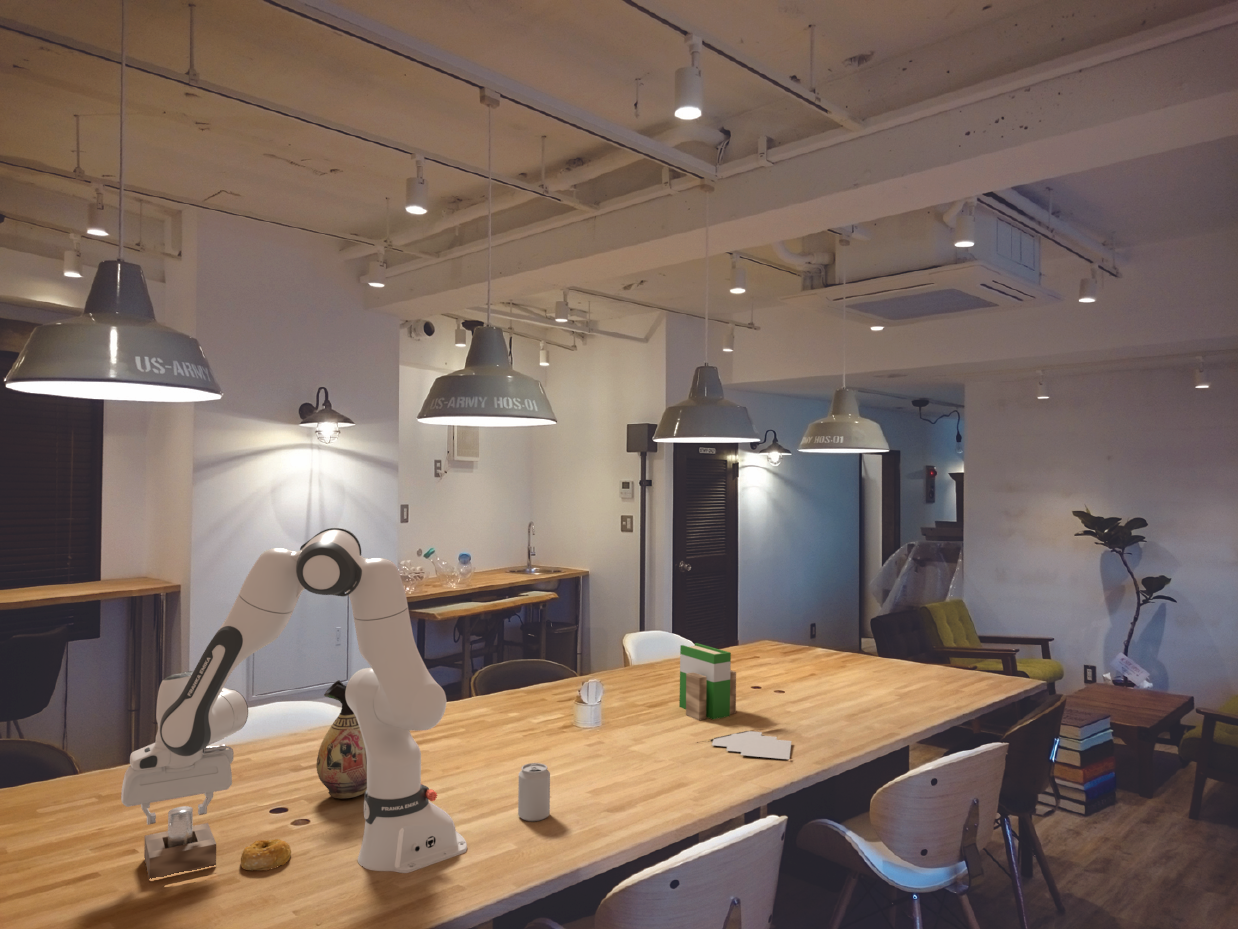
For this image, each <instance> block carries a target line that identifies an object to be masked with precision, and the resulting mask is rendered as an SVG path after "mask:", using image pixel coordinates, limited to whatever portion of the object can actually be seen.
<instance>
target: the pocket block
mask: <svg viewBox="0 0 1238 929" xmlns="http://www.w3.org/2000/svg"><path fill="white" fill-rule="evenodd" d="M143 854H144V858H145V860H144V863H145V862H146V865H145V867H146V866H147V870H146V872H147V871H148V874H147V876H148V875H149V879H150V878H151V879H152V878H156V877H164V876H167V875H171V874H174V873H179V872H184V871H192V870H197V869H201V868H205V867H209V866H214V865H216V866H217V842H216V839H215V837H214V835H213V832H212V830H211V827H210V824H209V822H207V823H206V822H205V823H200V824H196V825H192V843H190V844H185V845H180V846H176V847H171V848H168V830H167V831H162V832H155V833H150V834H145V835H144V853H143ZM144 858H143V859H144ZM149 879H148V880H149Z"/></svg>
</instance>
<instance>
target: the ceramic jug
mask: <svg viewBox="0 0 1238 929" xmlns="http://www.w3.org/2000/svg"><path fill="white" fill-rule="evenodd" d="M346 686H347V685H344V683H343V682H342V681H341V680H340V679H339V680H338V679H337V680H336V681H335V682H334V683H333V684H332V685H331V686H330V687H328V689H327V690H326V691H325V692H324V695H323V696H324V697H326V698H328V699H333V700H336V701H338V702H340V704H341V709H340V712H339V714H338V716H337V717H336V718H335V720H334V721H333V723H332V724H331V726H330V727H329V729H328V731H327V732H326V733H325V735H324V737H323V739H322V741H321V743H320V746H319V750H318V754H317V758H316V772H317V775H318V779H319V780H320V782H321V783H322V785H323V786H324V787H326V788H327V790H328V794H329V796H330V797H332V798H335V799H351V798H355V797H359V796H361V795H363V794H365V791H366V790H367V758H366V750H365V745H364V741H363V737H362V734H361V730H360V727H359V724H358V721H357V719H356V716H355V715H354V713H353V711H352V710H351V708H350V707H349V706H348V704H347V702H346V697H345V691H346Z"/></svg>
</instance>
